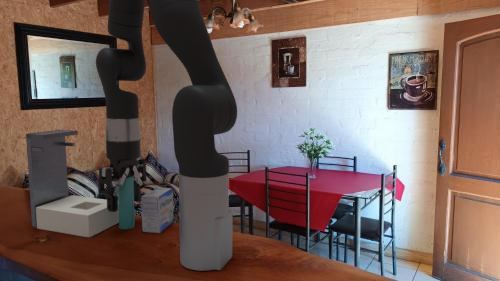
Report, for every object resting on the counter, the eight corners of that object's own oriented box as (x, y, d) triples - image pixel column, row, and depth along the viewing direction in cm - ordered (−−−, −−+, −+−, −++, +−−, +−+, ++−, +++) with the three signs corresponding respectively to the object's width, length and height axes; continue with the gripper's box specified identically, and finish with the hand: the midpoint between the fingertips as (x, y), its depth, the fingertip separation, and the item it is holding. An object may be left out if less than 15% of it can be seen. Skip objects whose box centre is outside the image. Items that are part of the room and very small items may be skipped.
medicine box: (159, 234, 85) (159, 196, 84) (141, 232, 86) (140, 195, 85) (173, 222, 93) (173, 188, 92) (156, 220, 94) (156, 186, 92)
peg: (137, 225, 90) (136, 176, 89) (128, 230, 87) (126, 179, 85) (125, 223, 91) (124, 175, 90) (116, 228, 88) (114, 178, 87)
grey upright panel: (81, 216, 96) (77, 130, 93) (49, 229, 87) (43, 134, 84) (65, 213, 98) (61, 129, 95) (32, 226, 88) (25, 133, 85)
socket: (121, 221, 93) (120, 201, 92) (89, 237, 82) (88, 215, 82) (73, 213, 98) (72, 195, 97) (37, 228, 87) (35, 207, 87)
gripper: (116, 142, 78) (118, 217, 81) (154, 135, 92) (155, 199, 94) (87, 140, 81) (90, 213, 83) (128, 133, 94) (130, 196, 96)
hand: (124, 205), depth 89 cm, fingers open, 8 cm apart
